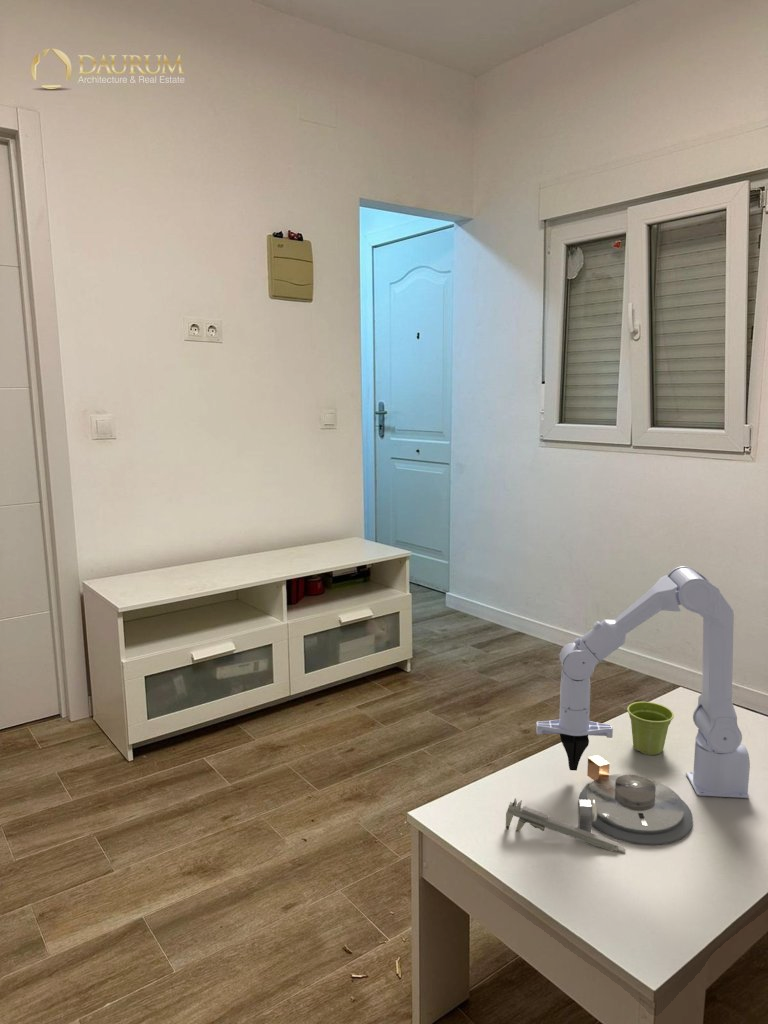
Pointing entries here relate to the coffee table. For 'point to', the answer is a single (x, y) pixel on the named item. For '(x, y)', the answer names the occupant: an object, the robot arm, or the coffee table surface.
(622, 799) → the cover
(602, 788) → the turntable
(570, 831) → the caliper
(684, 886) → the coffee table surface
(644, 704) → the plant pot
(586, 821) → the block
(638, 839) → the plinth
